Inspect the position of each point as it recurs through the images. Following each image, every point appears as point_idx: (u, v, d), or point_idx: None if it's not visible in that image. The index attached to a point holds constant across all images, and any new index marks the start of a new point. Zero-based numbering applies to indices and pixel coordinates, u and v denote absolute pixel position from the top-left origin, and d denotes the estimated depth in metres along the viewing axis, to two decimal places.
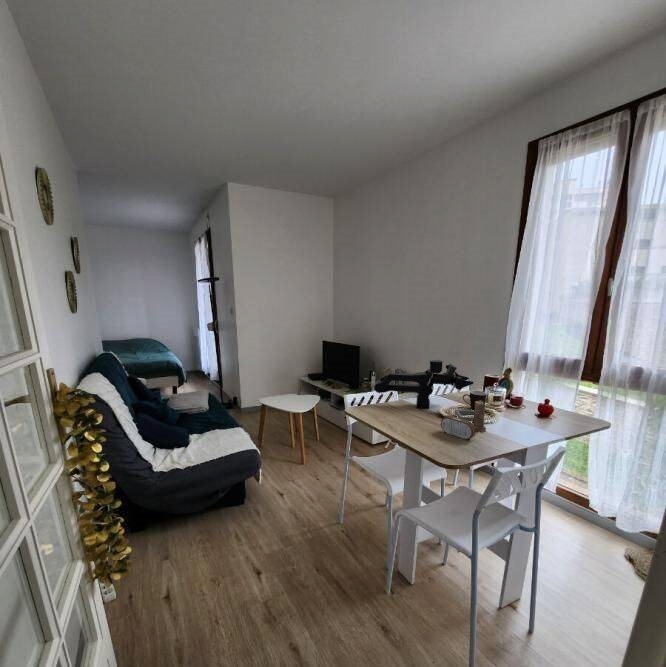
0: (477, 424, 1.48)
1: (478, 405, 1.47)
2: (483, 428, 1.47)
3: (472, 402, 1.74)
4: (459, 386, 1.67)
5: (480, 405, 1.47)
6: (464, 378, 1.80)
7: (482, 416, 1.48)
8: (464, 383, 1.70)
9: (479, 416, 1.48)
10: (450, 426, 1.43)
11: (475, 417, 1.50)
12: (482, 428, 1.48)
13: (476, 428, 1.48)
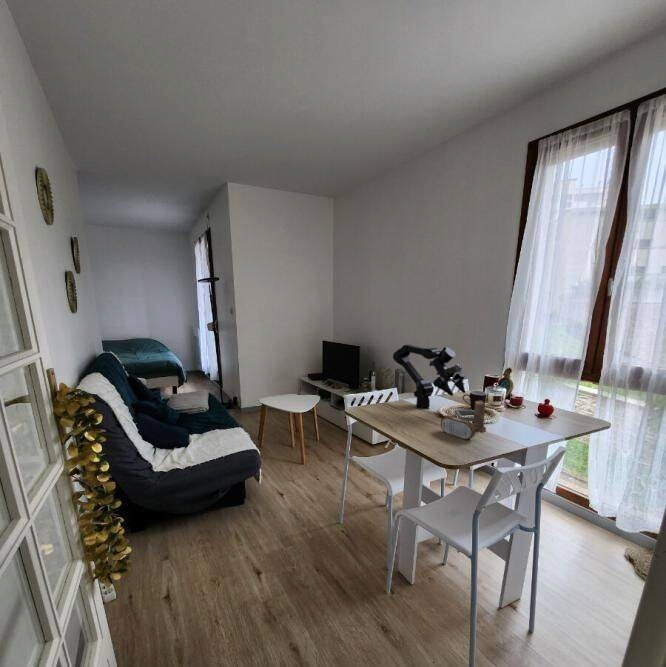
0: (477, 424, 1.48)
1: (478, 405, 1.47)
2: (483, 428, 1.47)
3: (472, 402, 1.74)
4: (435, 383, 1.59)
5: (480, 405, 1.47)
6: (461, 389, 1.63)
7: (482, 416, 1.48)
8: (445, 387, 1.59)
9: (479, 416, 1.48)
10: (450, 426, 1.43)
11: (475, 417, 1.50)
12: (482, 428, 1.48)
13: (476, 428, 1.48)
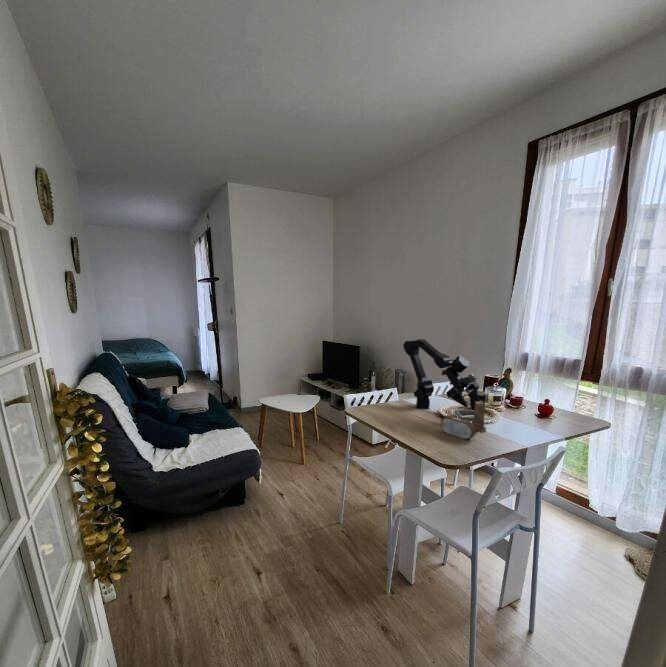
0: (477, 424, 1.48)
1: (478, 405, 1.47)
2: (483, 428, 1.47)
3: (472, 402, 1.74)
4: (449, 394, 1.52)
5: (480, 405, 1.47)
6: (476, 399, 1.56)
7: (482, 416, 1.48)
8: (459, 398, 1.52)
9: (479, 416, 1.48)
10: (450, 426, 1.43)
11: (475, 417, 1.50)
12: (482, 428, 1.48)
13: (476, 428, 1.48)
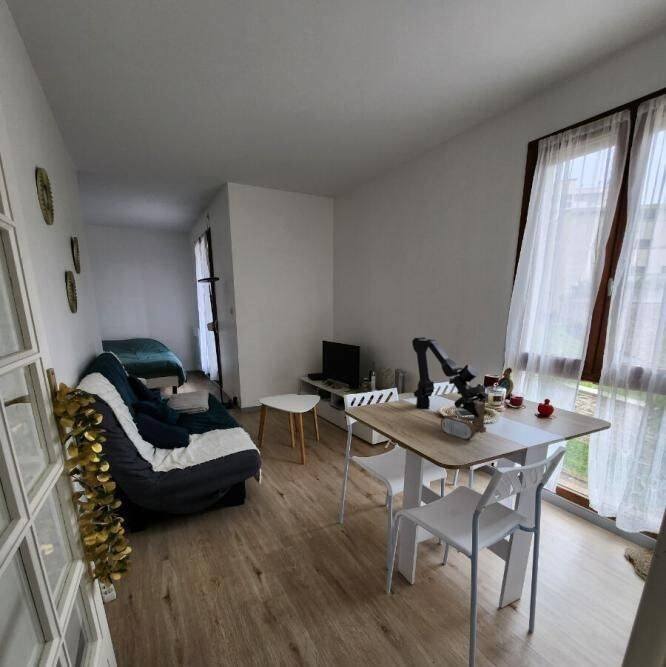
0: (477, 424, 1.48)
1: (478, 405, 1.47)
2: (483, 428, 1.47)
3: None
4: (457, 404, 1.49)
5: (480, 405, 1.47)
6: None
7: (482, 416, 1.48)
8: (470, 408, 1.49)
9: (479, 415, 1.48)
10: (450, 426, 1.43)
11: (475, 417, 1.50)
12: (482, 428, 1.48)
13: (476, 428, 1.48)
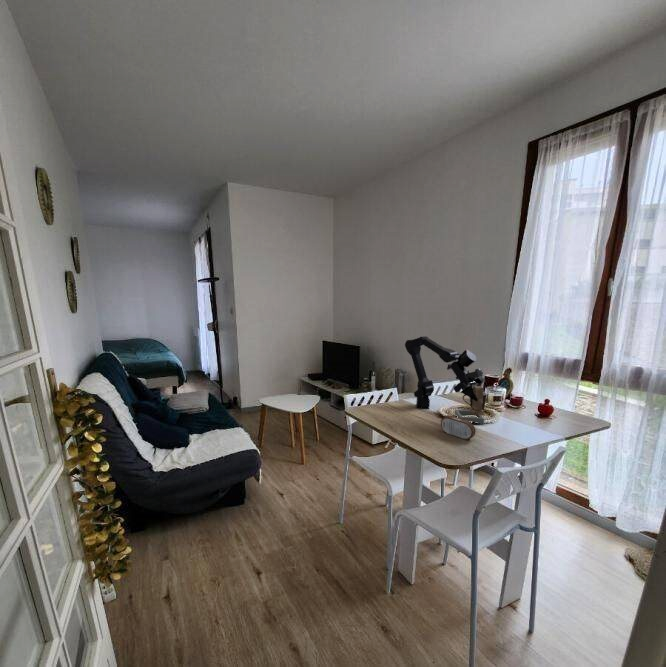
0: (476, 408, 1.51)
1: (477, 389, 1.50)
2: (482, 411, 1.51)
3: None
4: (456, 389, 1.51)
5: (479, 389, 1.50)
6: None
7: (480, 400, 1.51)
8: (469, 392, 1.52)
9: (478, 399, 1.51)
10: (450, 426, 1.43)
11: (473, 401, 1.52)
12: (480, 412, 1.51)
13: (475, 412, 1.51)
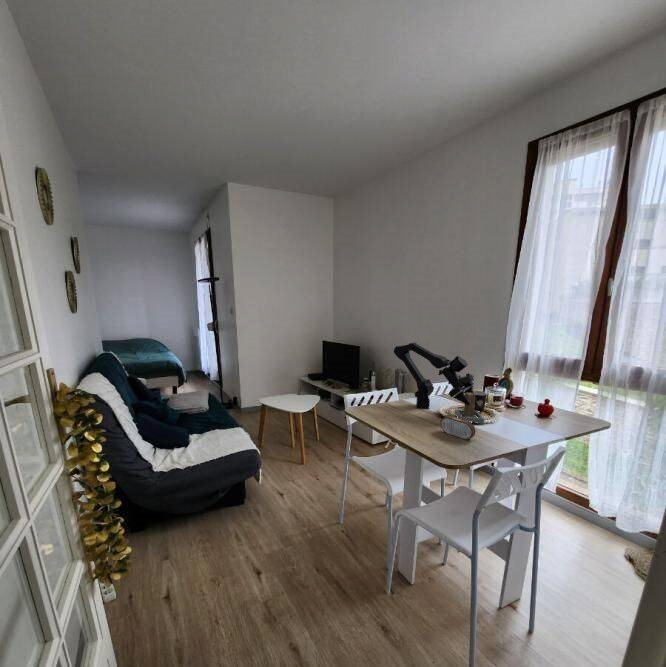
0: (469, 413, 1.60)
1: (469, 396, 1.59)
2: (474, 416, 1.60)
3: None
4: (452, 394, 1.58)
5: (471, 396, 1.59)
6: None
7: (473, 406, 1.60)
8: (461, 397, 1.58)
9: (470, 405, 1.60)
10: (450, 426, 1.43)
11: (466, 407, 1.61)
12: None
13: None
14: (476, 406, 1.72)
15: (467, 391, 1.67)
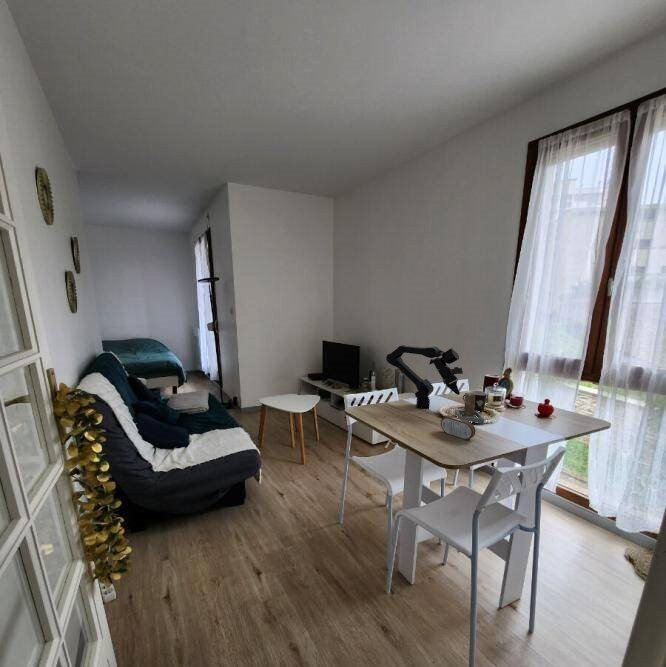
0: (469, 413, 1.60)
1: (469, 396, 1.59)
2: (474, 416, 1.60)
3: None
4: (448, 381, 1.61)
5: (471, 396, 1.59)
6: None
7: (473, 406, 1.60)
8: (453, 386, 1.63)
9: (470, 405, 1.60)
10: (450, 426, 1.43)
11: (466, 407, 1.61)
12: None
13: None
14: (476, 406, 1.72)
15: None
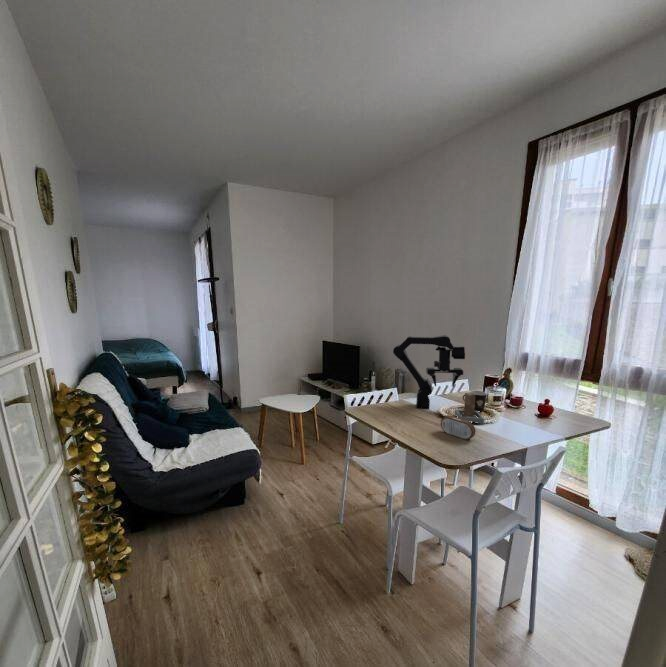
0: (469, 413, 1.60)
1: (469, 396, 1.59)
2: (474, 416, 1.60)
3: None
4: None
5: (471, 396, 1.59)
6: (435, 382, 1.76)
7: (473, 406, 1.60)
8: None
9: (470, 405, 1.60)
10: (450, 426, 1.43)
11: (466, 407, 1.61)
12: None
13: None
14: (476, 406, 1.72)
15: None
